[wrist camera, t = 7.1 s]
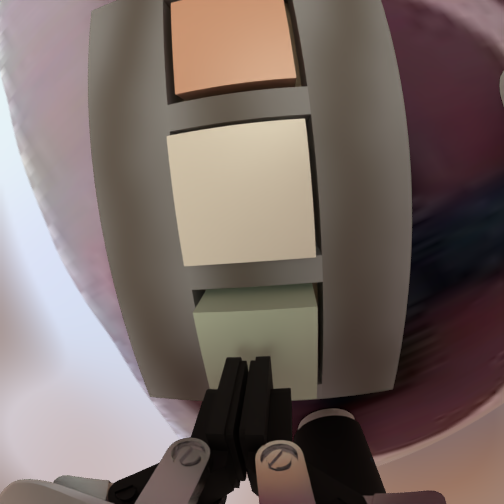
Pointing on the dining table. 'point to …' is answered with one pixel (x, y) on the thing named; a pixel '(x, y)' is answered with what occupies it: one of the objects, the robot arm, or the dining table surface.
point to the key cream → (243, 193)
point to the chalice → (502, 87)
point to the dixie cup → (339, 450)
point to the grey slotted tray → (322, 179)
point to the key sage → (262, 333)
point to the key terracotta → (230, 47)
